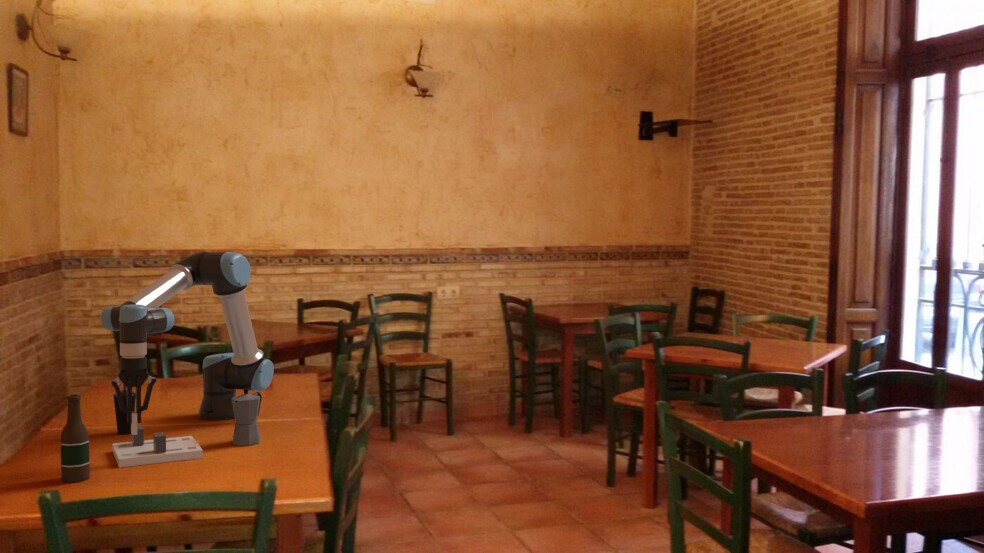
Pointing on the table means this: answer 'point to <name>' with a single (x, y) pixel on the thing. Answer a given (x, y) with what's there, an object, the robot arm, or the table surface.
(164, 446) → the lever
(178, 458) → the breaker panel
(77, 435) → the beer bottle
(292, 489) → the table surface
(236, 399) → the coffeepot
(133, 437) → the on lever
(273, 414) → the table surface
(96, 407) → the table surface
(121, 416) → the drinking cup
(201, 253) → the robot arm
